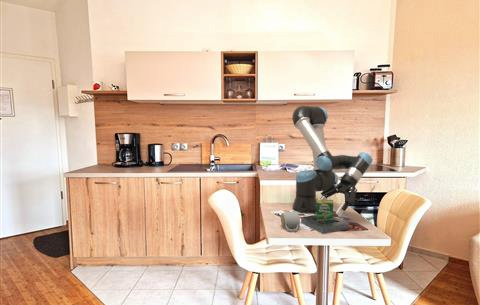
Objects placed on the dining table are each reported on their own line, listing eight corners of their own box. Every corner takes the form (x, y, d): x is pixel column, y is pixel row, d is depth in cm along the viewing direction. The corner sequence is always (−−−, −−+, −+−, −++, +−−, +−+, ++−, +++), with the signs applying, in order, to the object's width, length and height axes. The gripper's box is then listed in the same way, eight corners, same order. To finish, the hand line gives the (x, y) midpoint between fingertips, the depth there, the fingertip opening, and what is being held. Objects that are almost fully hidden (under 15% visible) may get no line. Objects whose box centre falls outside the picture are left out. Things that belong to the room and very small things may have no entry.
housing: (301, 222, 131) (301, 217, 131) (325, 218, 137) (325, 213, 137) (323, 234, 116) (323, 227, 116) (349, 228, 123) (349, 222, 122)
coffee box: (315, 225, 127) (316, 199, 126) (316, 223, 130) (316, 198, 129) (332, 228, 124) (333, 201, 123) (333, 226, 127) (333, 199, 126)
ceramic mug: (280, 224, 129) (280, 209, 128) (296, 224, 129) (296, 209, 128) (284, 232, 118) (285, 216, 117) (302, 232, 118) (302, 216, 118)
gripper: (375, 187, 120) (351, 223, 116) (336, 179, 143) (314, 208, 138) (368, 177, 118) (342, 213, 113) (329, 170, 141) (306, 200, 136)
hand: (327, 211), depth 126 cm, fingers open, 13 cm apart
